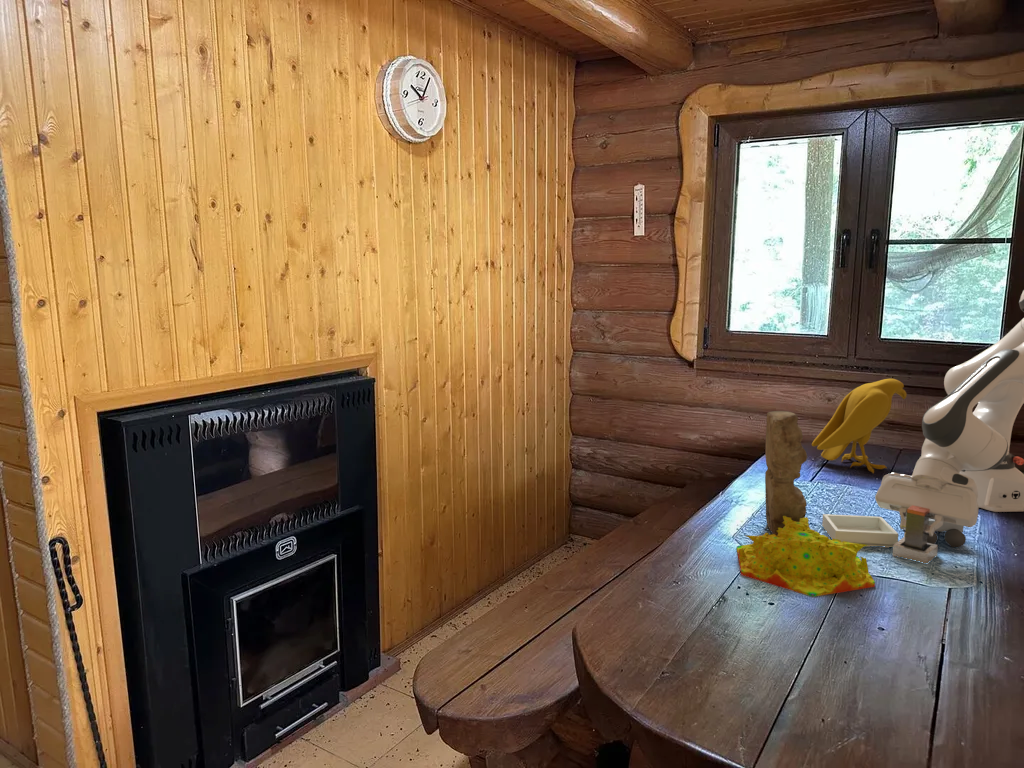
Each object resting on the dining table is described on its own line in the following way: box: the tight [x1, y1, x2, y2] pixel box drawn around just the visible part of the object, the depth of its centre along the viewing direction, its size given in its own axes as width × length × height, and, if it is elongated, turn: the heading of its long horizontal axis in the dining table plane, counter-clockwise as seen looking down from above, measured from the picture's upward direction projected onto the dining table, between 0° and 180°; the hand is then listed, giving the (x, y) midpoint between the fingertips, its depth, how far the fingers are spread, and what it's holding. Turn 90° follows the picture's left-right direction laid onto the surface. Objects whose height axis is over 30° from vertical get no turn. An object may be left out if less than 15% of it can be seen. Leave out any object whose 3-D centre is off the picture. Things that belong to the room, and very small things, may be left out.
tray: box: [821, 513, 899, 548], centre depth 169 cm, size 14×12×3 cm
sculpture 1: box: [764, 410, 808, 536], centre depth 171 cm, size 12×9×30 cm
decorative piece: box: [736, 516, 876, 598], centre depth 152 cm, size 26×8×30 cm
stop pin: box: [904, 505, 930, 551], centre depth 157 cm, size 4×4×11 cm
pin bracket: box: [891, 536, 939, 564], centre depth 158 cm, size 7×7×2 cm
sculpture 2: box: [811, 378, 908, 474], centre depth 229 cm, size 20×27×30 cm
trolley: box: [900, 517, 967, 548], centre depth 167 cm, size 10×11×12 cm
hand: (915, 531), depth 156 cm, fingers closed on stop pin, 3 cm apart
